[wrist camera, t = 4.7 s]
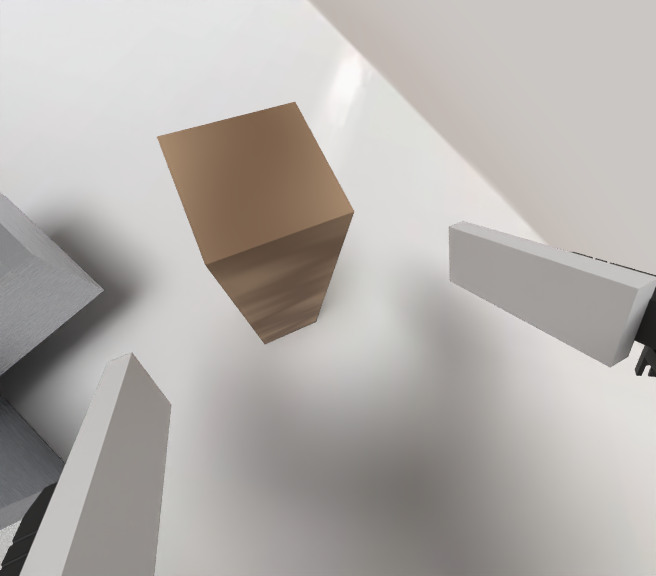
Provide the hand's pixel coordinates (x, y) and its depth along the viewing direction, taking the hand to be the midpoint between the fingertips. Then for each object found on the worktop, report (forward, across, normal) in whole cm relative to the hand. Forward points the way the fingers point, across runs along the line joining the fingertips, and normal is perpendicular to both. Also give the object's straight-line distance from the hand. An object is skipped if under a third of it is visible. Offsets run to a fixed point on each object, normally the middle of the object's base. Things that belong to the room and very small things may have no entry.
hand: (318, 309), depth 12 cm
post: (+9, -1, -5) cm, 11 cm away
